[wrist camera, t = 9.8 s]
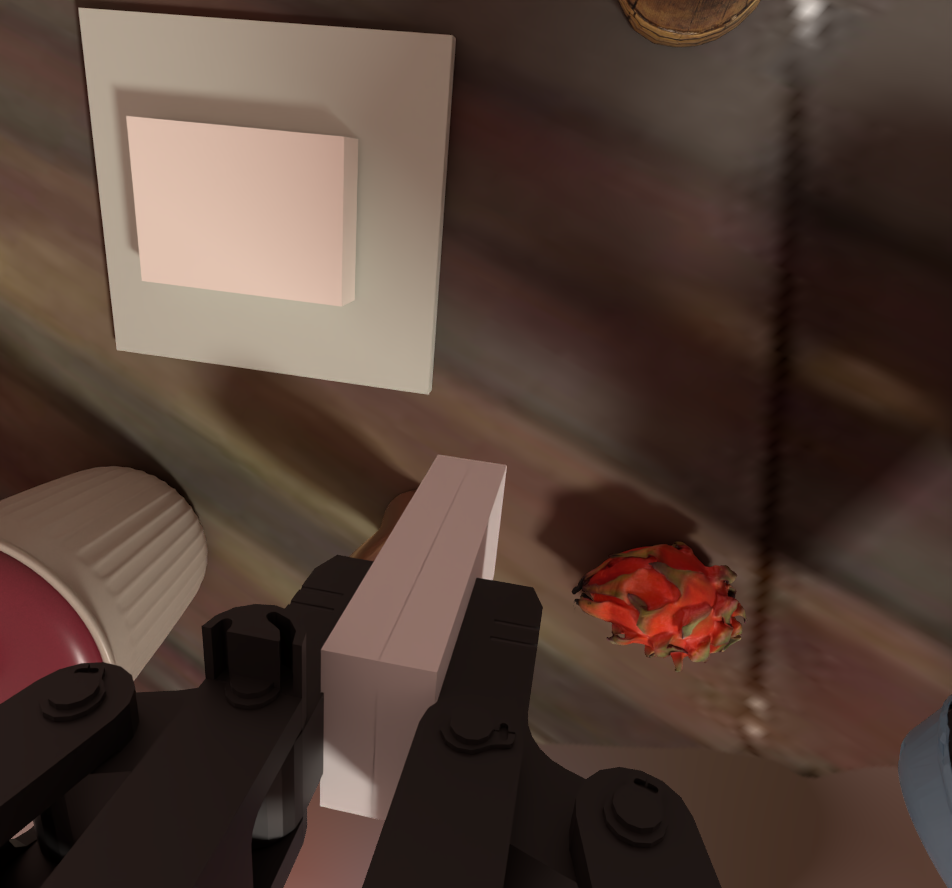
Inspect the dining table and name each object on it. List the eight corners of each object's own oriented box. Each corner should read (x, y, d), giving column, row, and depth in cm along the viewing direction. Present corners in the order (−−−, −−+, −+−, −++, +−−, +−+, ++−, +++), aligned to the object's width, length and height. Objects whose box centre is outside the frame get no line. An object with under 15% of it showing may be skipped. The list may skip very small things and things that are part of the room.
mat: (456, 38, 40) (452, 35, 39) (431, 390, 49) (428, 394, 48) (89, 11, 43) (78, 7, 42) (125, 346, 52) (116, 349, 51)
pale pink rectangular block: (344, 136, 40) (126, 115, 41) (341, 306, 44) (141, 280, 45) (359, 139, 42) (153, 119, 44) (356, 299, 46) (166, 275, 48)
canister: (131, 387, 53) (-141, 507, 33) (287, 556, 56) (121, 755, 37) (10, 504, 59) (-277, 662, 40) (156, 650, 62) (-44, 861, 43)
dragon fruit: (742, 585, 52) (587, 550, 55) (768, 536, 45) (587, 500, 48) (730, 697, 47) (562, 652, 51) (756, 663, 40) (559, 613, 44)
